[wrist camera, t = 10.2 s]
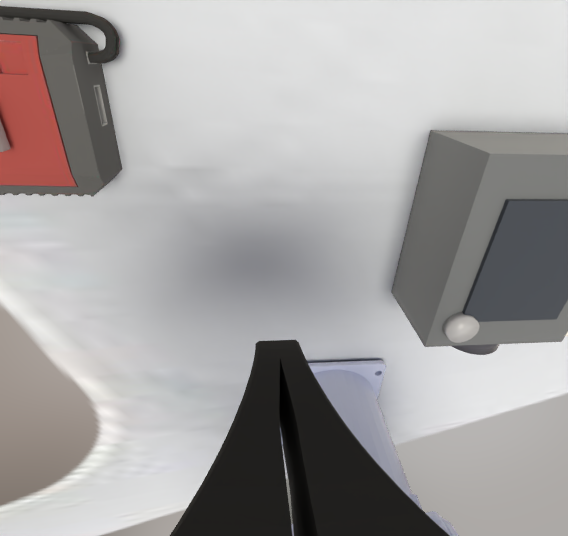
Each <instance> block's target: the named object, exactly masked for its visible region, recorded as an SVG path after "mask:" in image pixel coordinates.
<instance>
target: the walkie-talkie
mask: <svg viewBox="0 0 568 536" xmlns="http://www.w3.org/2000/svg"><path fill="white" fill-rule="evenodd" d="M67 23H74V24H89V25H93V26H95V27H97V28H99V29H100V30H101V31H102V32H104V35H105V37H106V47H105V49H104V50H102V51H99V49H98V45H97V44H96V43H95V42H94V41H93V40H92V39H91V38H90V37H89V36H88V35H87V34H86V33H85V32H83V31H82V30H81V29H80V28H79V27H78V26H77V25H72V24H67ZM118 54H119V36H118V34H117V31H116V29H115V28H114V27H113V26H112V24H111V23H110V22H108V21H107V20H106V19H104V18H102V17H100V16H97V15H94V14H92V13H88V12H82V11H67V10H51V9H36V8H20V7H5V6H0V195H5V194H7V193H12V194H13V195H18V194H20V193H25V194H26V195H32V194H39V195H45V194H52V195H53V196H57V195H58V194H65V195H66V196H70V195H72V194H77V195H78V196H83V195H84V194H88V195H91V196H94V195H95V194H96V193H97V192H99V191H100V190H101V189H102V188H103V187H104V186H106V185H107V184H108V183H109V182H110V181H111V180H112V179H113V178H114V177H115V176H116V175H117V174H118V173H119V172H120V171H121V170H122V166H121V161H120V156H119V151H118V146H117V141H116V135H115V130H114V125H113V120H112V115H111V110H110V105H109V100H108V95H107V90H106V85H105V80H104V74H103V69H102V64H101V63H107V62H109V61H112V60H114V59H115V58H116V56H117V55H118Z"/></svg>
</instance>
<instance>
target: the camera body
mask: <svg viewBox="0 0 568 536" xmlns="http://www.w3.org/2000/svg"><path fill="white" fill-rule="evenodd" d="M392 294H393V295H394V297H395V299H396V300H397V302H398V304H399V305H400V307H401V309H402V310H403V312H404V313H405V315H406V317H407V318H408V320H409V322H410V323H411V325H412V327H413V328H414V330H415V331H416V333H417V335H418V336H419V338H420V340H421V341H422V343H423V345H424V346H425V347H433V346H452V347H454V348H456V349H458V350H461V351H464V352H467V353H471V354H477V355H485V354H490V353H493V352H494V351H496V350H497V348H498V346H499V344H512V343H538V342H562V340H563V338H564V337H565V336H568V133H523V132H479V131H435V130H431V132H430V136H429V140H428V144H427V148H426V152H425V156H424V161H423V165H422V169H421V173H420V177H419V181H418V185H417V189H416V194H415V198H414V202H413V206H412V210H411V214H410V218H409V222H408V227H407V231H406V235H405V239H404V243H403V247H402V251H401V255H400V260H399V264H398V268H397V272H396V276H395V280H394V284H393V288H392Z"/></svg>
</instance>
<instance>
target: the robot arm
mask: <svg viewBox="0 0 568 536" xmlns="http://www.w3.org/2000/svg"><path fill="white" fill-rule="evenodd" d="M385 370H386V365H385V363H384V361H382V360H372V361H348V362H324V363H307V361H306V359H305V357H304V354H303V352H302V350H301V347H300V345H299V342H297V341H296V340H279V341H259V342H258V343H256V350H255V357H254V362H253V366H252V370H251V374H250V377H249V380H248V383H247V387H246V390H245V393H244V396H243V398H242V401H241V404H240V406H239V409H238V411H237V414H236V416H235V419H234V421H233V423H232V426H231V428H230V430H229V432H228V435H227V437H226V439H225V441H224V443H223V445H222V447H221V449H220V451H219V453H218V455H217V457H216V459H215V461H214V463H213V464H212V466H211V468H210V470H209V472H208V474H207V476H206V477H205V479H204V481H203V483H202V485H201V486H200V488H199V490H198V491H197V493H196V495H195V496H194V498H193V500H192V501H191V503H190V504H189V506H188V508H187V509H186V511H185V513H184V514H183V516H182V518H181V519H180V521H179V522H178V524H177V525H176V527H175V529H174V530H173V532H172V533H171V535H170V536H459V535H458V534H457V532H456V530H455V528H454V527H453V525H452V524H451V523H450V522H449V521H447V520H446V519H444V518H443V517H441V516H440V515H439V514H438V513H437V512H435V511H432V512H428V513H425V512H424V511H423V510H422V508H421V505H420V503H419V500H418V497H417V495H416V494H412V492H411V489H410V486H409V484H408V481H407V479H406V476H405V473H404V471H403V468H402V465H401V463H400V460H399V457H398V454H397V452H396V449H395V446H394V444H393V441H392V438H391V436H390V433H389V430H388V428H387V425H386V422H385V420H384V417H383V414H382V412H381V409H380V406H379V404H378V401H377V399H378V395H379V392H380V388H381V384H382V381H383V377H384V373H385ZM282 445H283V448H284V454H285V460H286V467H287V473H288V479H289V486H290V494H291V506H292V518H293V524H291V519H290V511H289V503H288V495H287V487H286V478H285V469H284V460H283V451H282Z"/></svg>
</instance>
